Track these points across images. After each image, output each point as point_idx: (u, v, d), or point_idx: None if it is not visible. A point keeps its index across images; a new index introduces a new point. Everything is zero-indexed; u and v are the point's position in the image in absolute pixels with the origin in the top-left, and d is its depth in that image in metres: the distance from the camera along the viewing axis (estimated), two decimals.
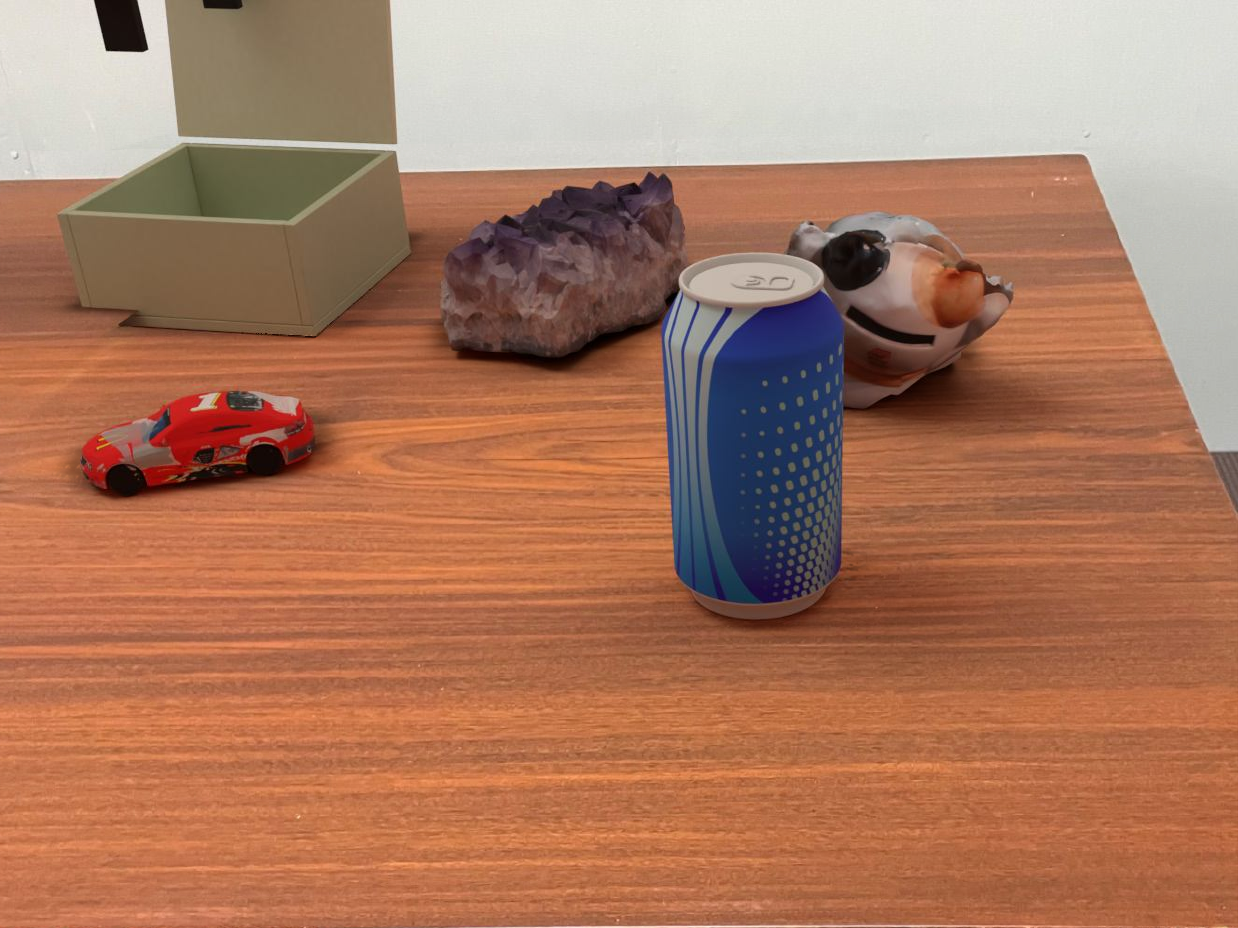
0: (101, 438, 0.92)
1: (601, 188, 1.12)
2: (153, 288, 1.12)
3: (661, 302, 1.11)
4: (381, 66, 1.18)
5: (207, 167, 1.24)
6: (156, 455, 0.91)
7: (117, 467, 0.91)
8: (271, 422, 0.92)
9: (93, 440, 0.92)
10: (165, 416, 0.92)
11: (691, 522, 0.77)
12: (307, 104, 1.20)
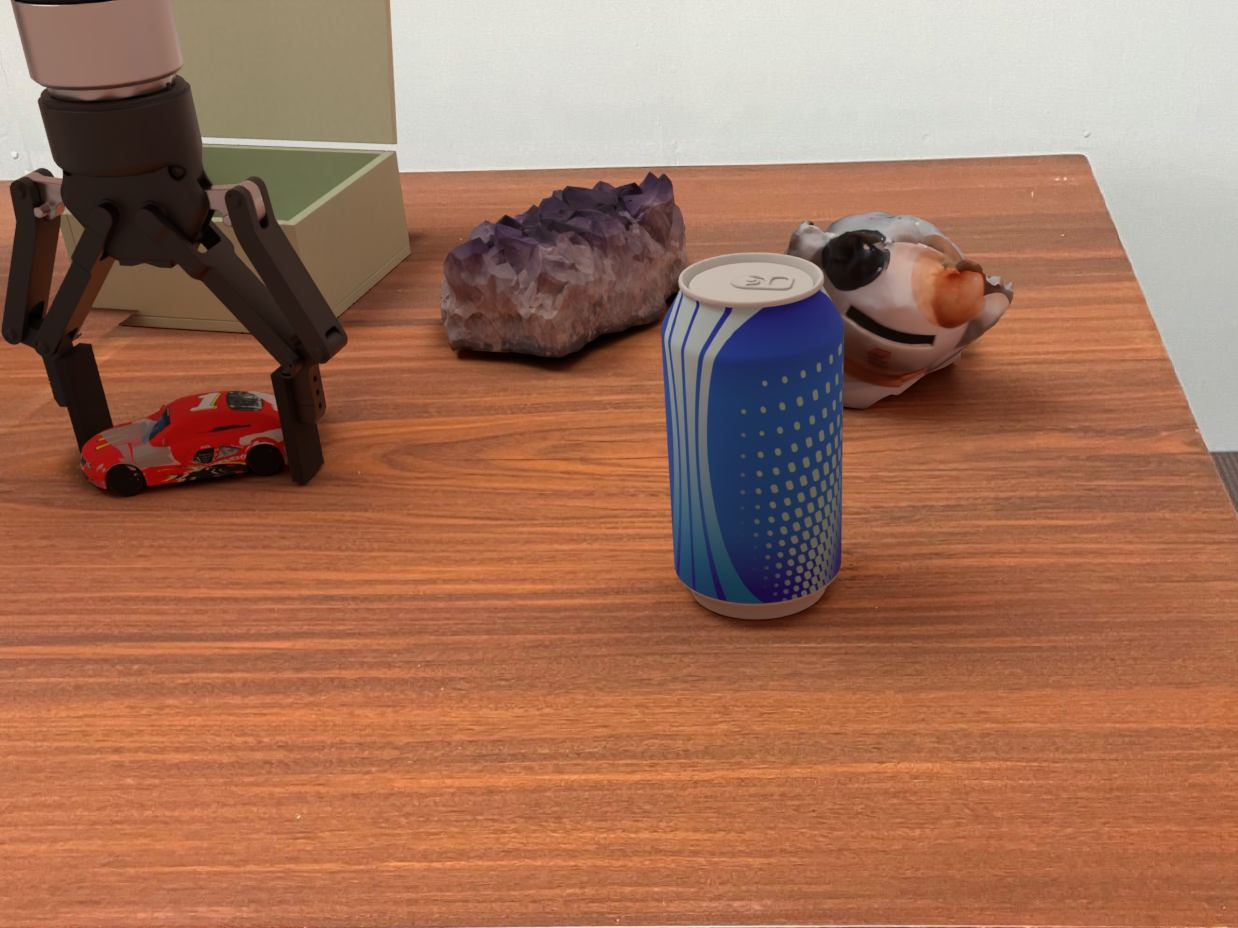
0: (100, 438, 0.92)
1: (601, 188, 1.12)
2: (153, 288, 1.12)
3: (661, 302, 1.11)
4: (381, 66, 1.18)
5: (207, 167, 1.24)
6: (156, 455, 0.91)
7: (117, 467, 0.91)
8: (271, 422, 0.92)
9: (93, 440, 0.92)
10: (165, 416, 0.92)
11: (691, 522, 0.77)
12: (307, 104, 1.20)
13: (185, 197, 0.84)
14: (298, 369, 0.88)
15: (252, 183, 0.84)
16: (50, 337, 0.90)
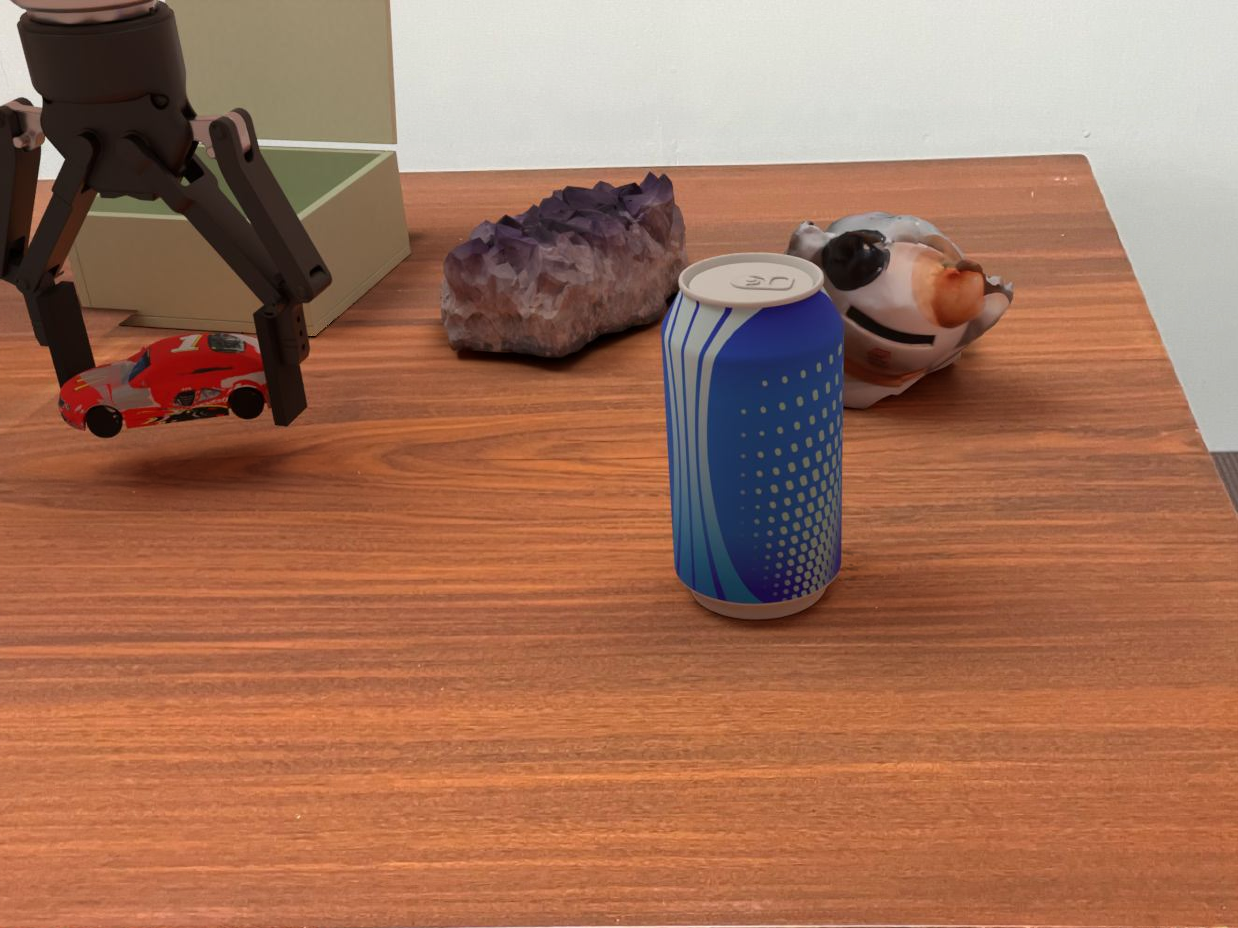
0: (79, 379, 0.90)
1: (602, 188, 1.12)
2: (153, 288, 1.12)
3: (661, 302, 1.11)
4: (381, 66, 1.18)
5: None
6: (135, 397, 0.89)
7: (95, 408, 0.89)
8: (254, 364, 0.91)
9: (71, 381, 0.91)
10: (145, 357, 0.90)
11: (691, 522, 0.77)
12: (307, 104, 1.20)
13: (168, 127, 0.82)
14: (281, 308, 0.86)
15: (237, 115, 0.82)
16: (31, 273, 0.88)
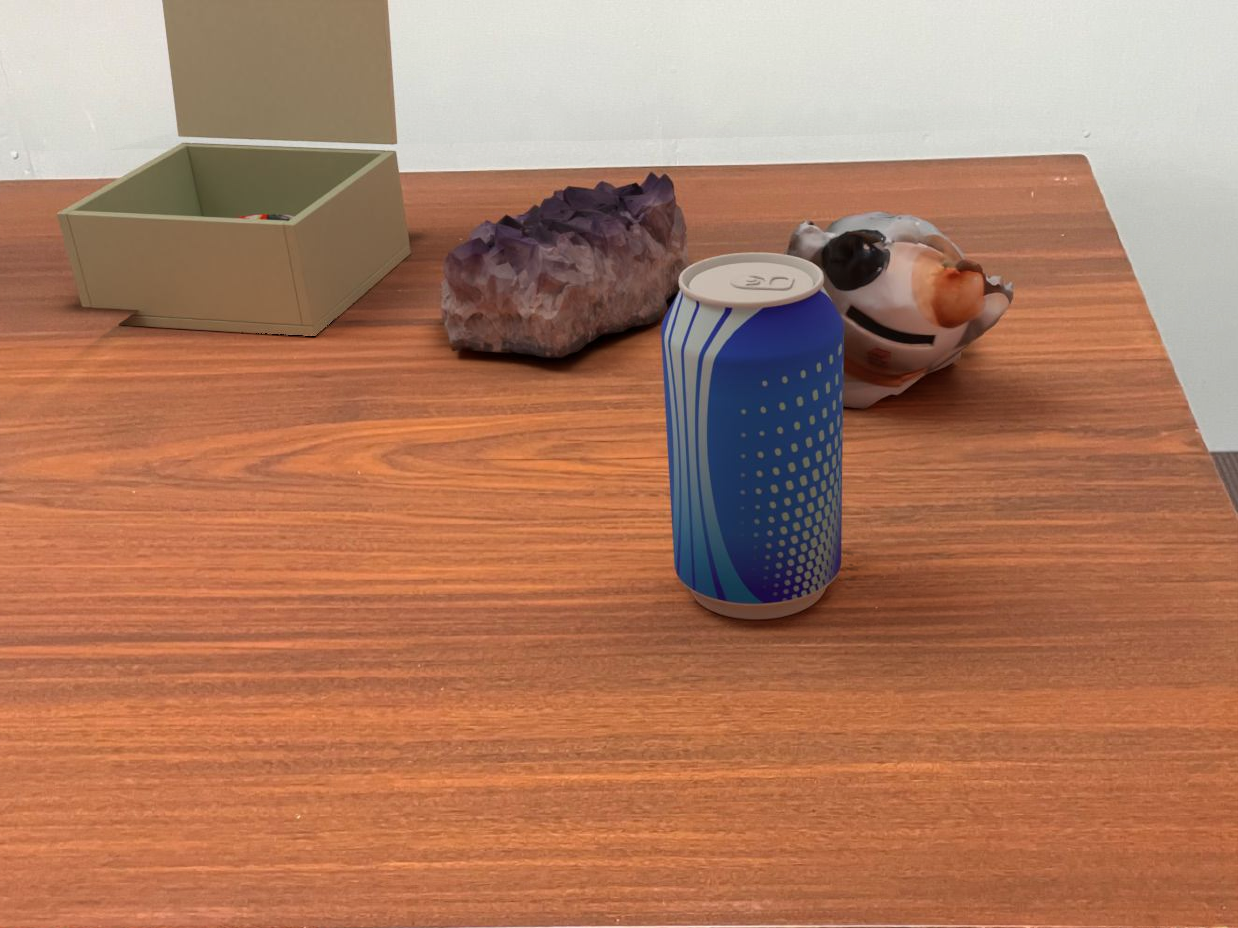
0: None
1: (603, 188, 1.12)
2: (153, 288, 1.12)
3: (662, 303, 1.11)
4: (380, 66, 1.18)
5: (207, 167, 1.24)
6: None
7: None
8: None
9: None
10: None
11: (691, 522, 0.77)
12: (306, 104, 1.20)
13: None
14: None
15: None
16: None
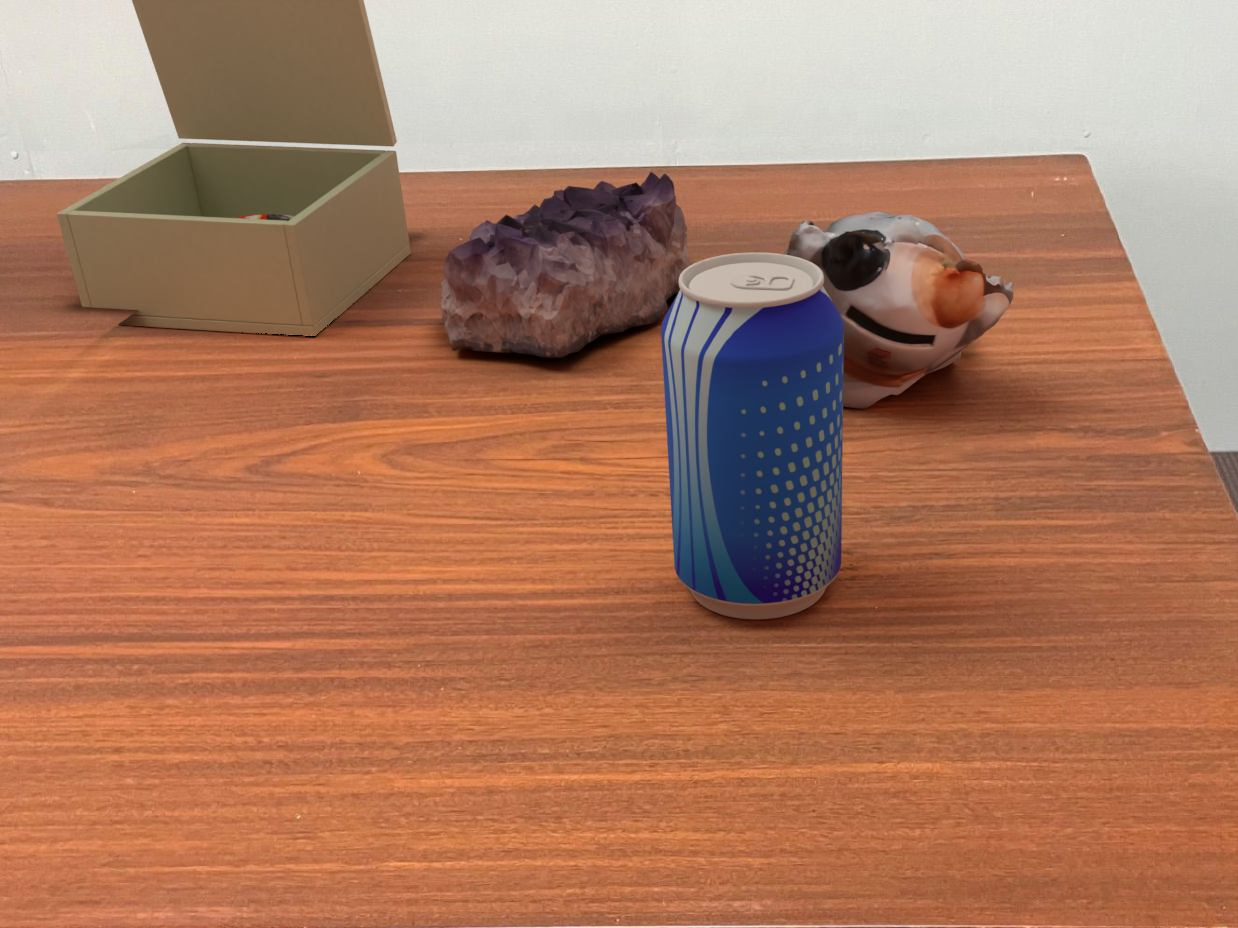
0: None
1: (603, 188, 1.12)
2: (153, 288, 1.12)
3: (662, 303, 1.11)
4: (369, 76, 1.16)
5: (207, 167, 1.24)
6: None
7: None
8: None
9: None
10: None
11: (691, 522, 0.77)
12: (301, 110, 1.19)
13: None
14: None
15: None
16: None
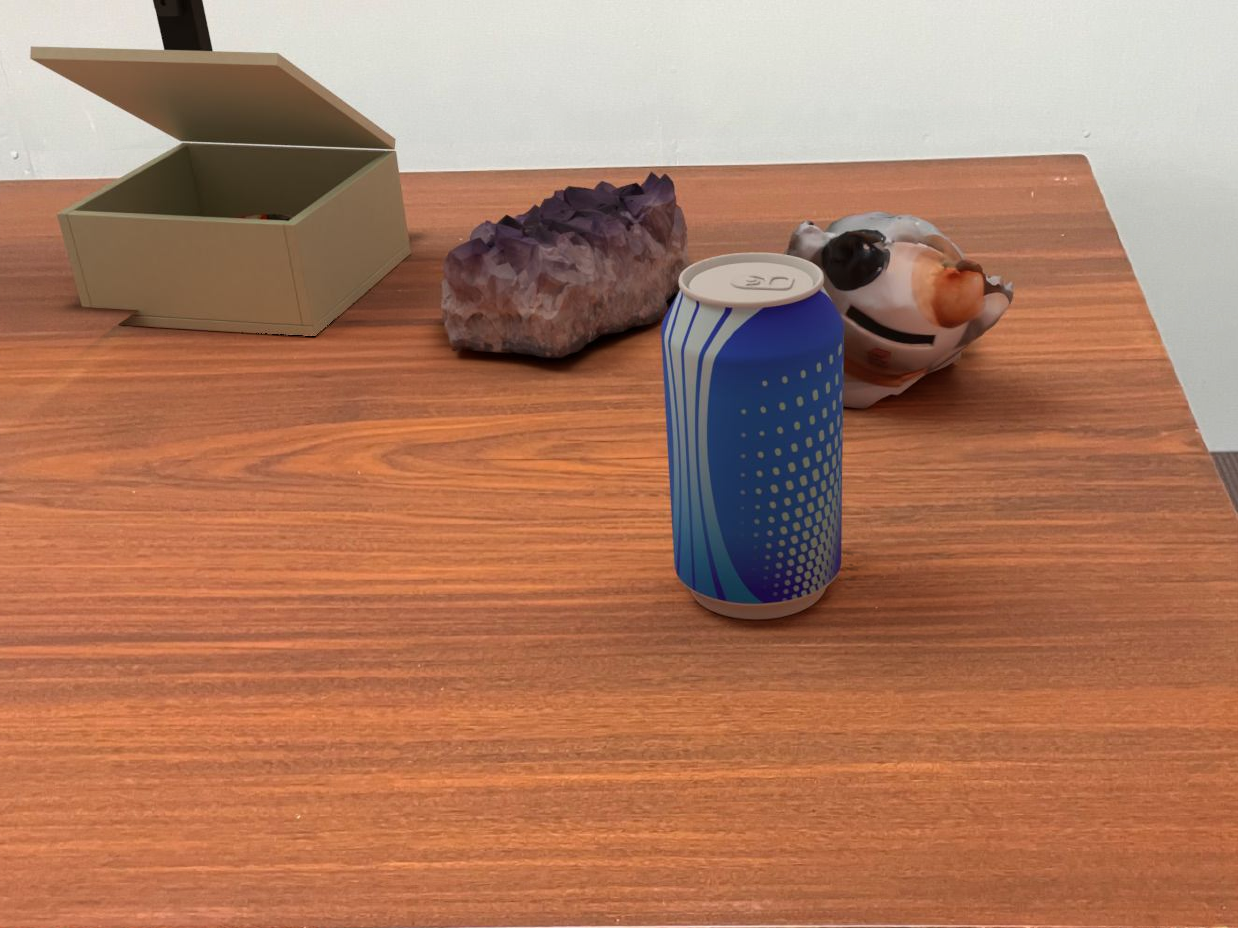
0: None
1: (603, 188, 1.12)
2: (153, 288, 1.12)
3: (662, 303, 1.11)
4: (356, 127, 1.15)
5: (207, 167, 1.24)
6: None
7: None
8: None
9: None
10: None
11: (691, 522, 0.77)
12: (296, 136, 1.19)
13: None
14: None
15: None
16: None
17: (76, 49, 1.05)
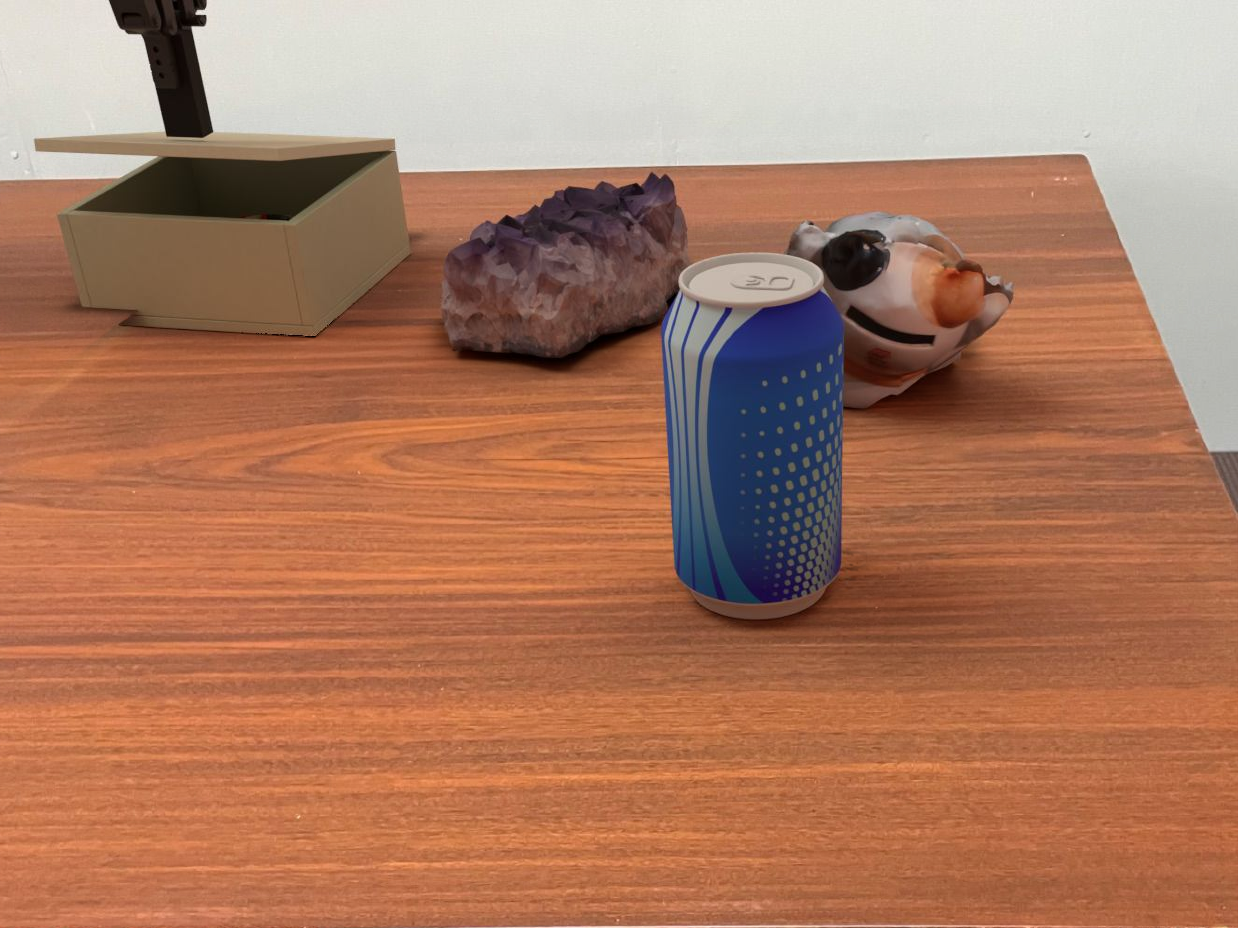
0: None
1: (603, 188, 1.12)
2: (153, 288, 1.12)
3: (662, 303, 1.11)
4: None
5: (207, 167, 1.24)
6: None
7: None
8: None
9: None
10: None
11: (691, 522, 0.77)
12: None
13: None
14: (133, 33, 1.04)
15: None
16: None
17: (79, 142, 1.06)
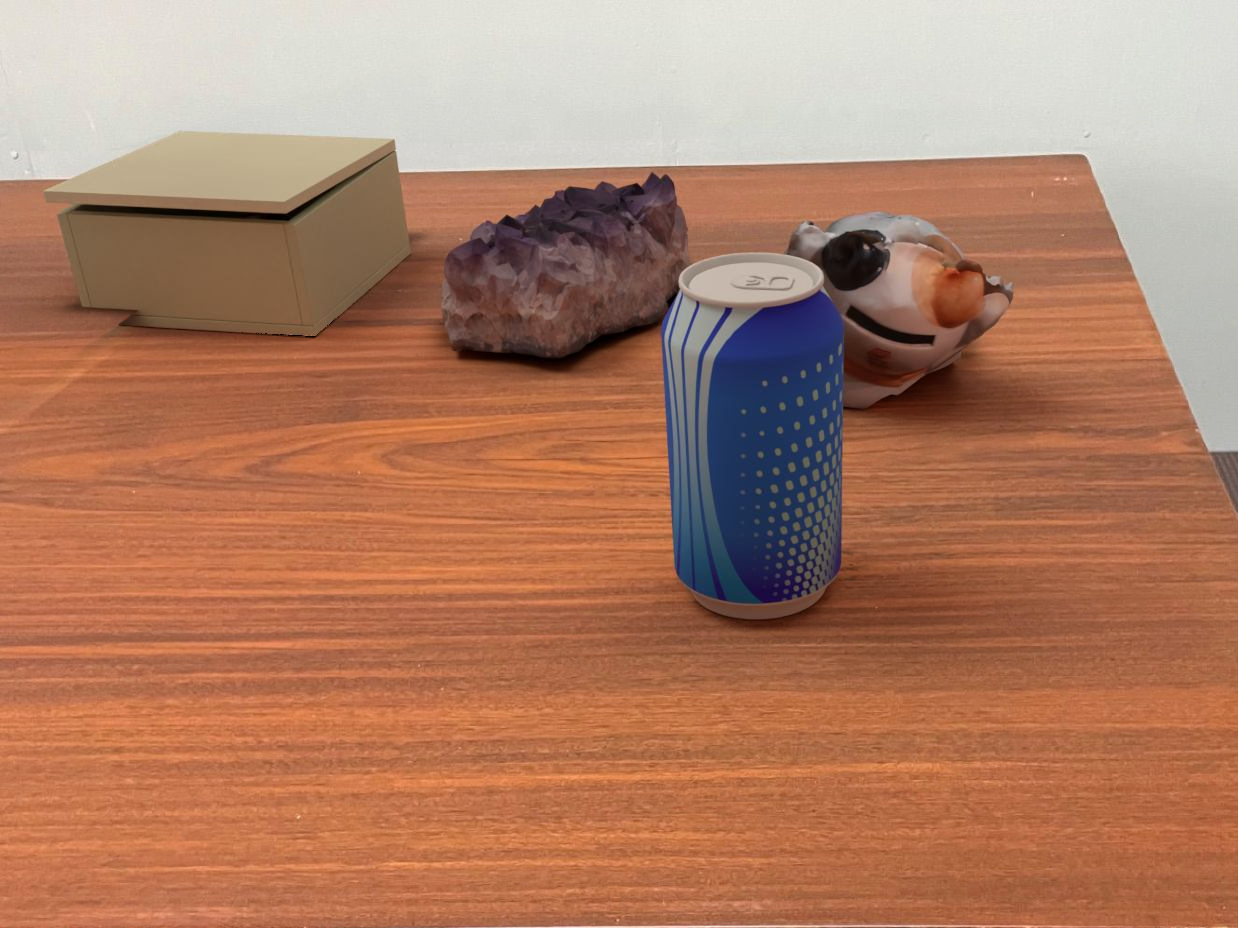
0: None
1: (604, 189, 1.12)
2: (153, 288, 1.12)
3: (663, 303, 1.11)
4: None
5: None
6: None
7: None
8: None
9: None
10: None
11: (691, 522, 0.77)
12: None
13: None
14: None
15: None
16: None
17: (88, 194, 1.08)
